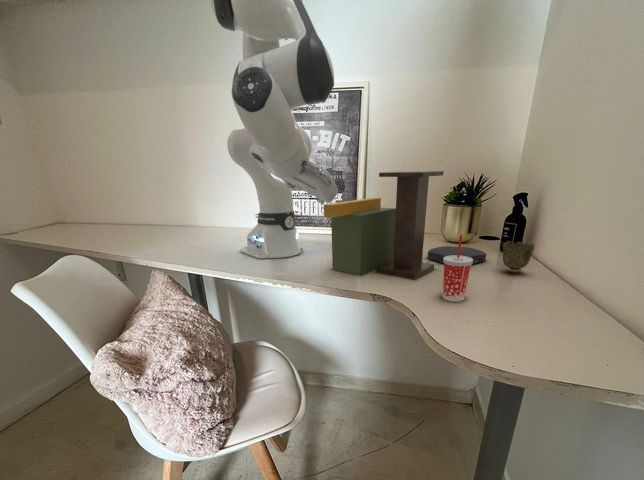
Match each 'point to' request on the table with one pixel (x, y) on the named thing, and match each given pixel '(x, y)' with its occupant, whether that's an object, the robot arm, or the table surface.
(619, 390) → the table surface
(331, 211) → the wooden bar
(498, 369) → the table surface
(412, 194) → the shelf stand
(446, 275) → the beverage cup
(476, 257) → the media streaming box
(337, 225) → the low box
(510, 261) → the cup
